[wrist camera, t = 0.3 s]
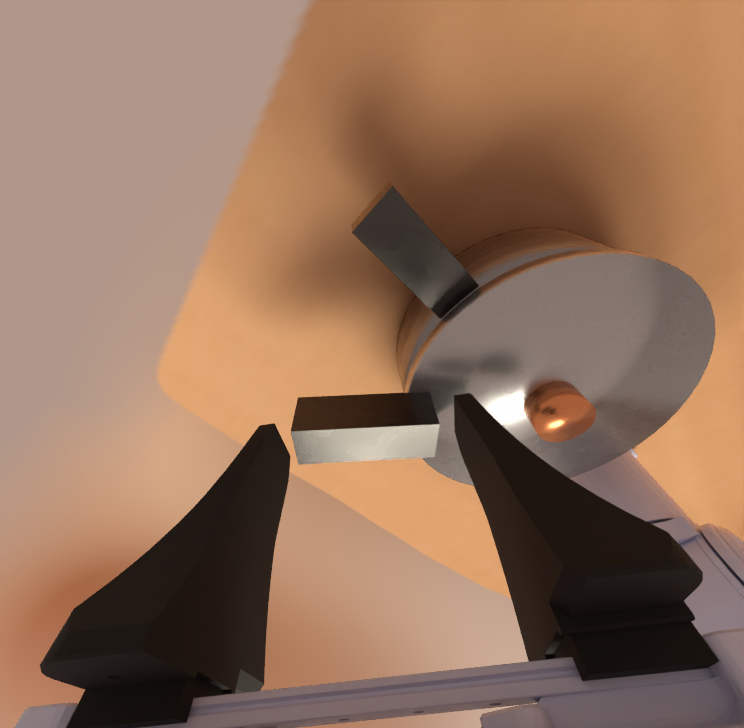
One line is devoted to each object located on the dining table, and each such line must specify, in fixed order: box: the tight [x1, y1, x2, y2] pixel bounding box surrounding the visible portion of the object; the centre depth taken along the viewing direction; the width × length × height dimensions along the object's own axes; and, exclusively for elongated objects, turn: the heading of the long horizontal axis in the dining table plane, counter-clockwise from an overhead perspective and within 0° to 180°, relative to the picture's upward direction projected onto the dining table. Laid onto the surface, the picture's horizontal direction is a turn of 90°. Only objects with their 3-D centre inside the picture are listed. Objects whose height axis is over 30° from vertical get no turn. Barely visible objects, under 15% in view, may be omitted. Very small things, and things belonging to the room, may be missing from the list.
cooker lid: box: [291, 248, 715, 486], centre depth 17 cm, size 22×16×3 cm
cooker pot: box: [352, 182, 614, 392], centre depth 19 cm, size 22×16×5 cm
